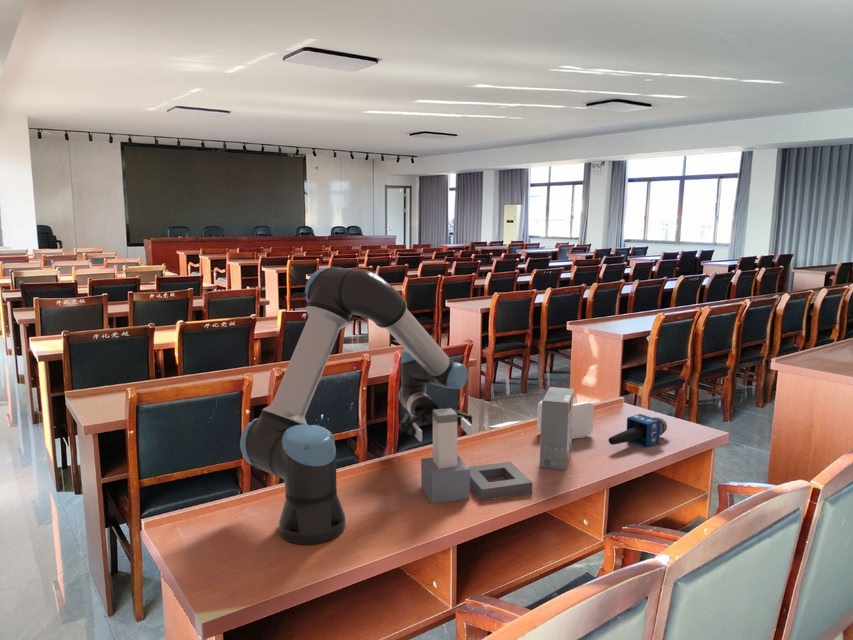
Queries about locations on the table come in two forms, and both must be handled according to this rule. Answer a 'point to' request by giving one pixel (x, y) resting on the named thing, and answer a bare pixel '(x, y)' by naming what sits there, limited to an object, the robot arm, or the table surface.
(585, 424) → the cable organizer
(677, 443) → the table surface
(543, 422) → the hard drive box
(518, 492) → the socket block
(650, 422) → the microphone
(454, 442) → the plug
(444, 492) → the stand
